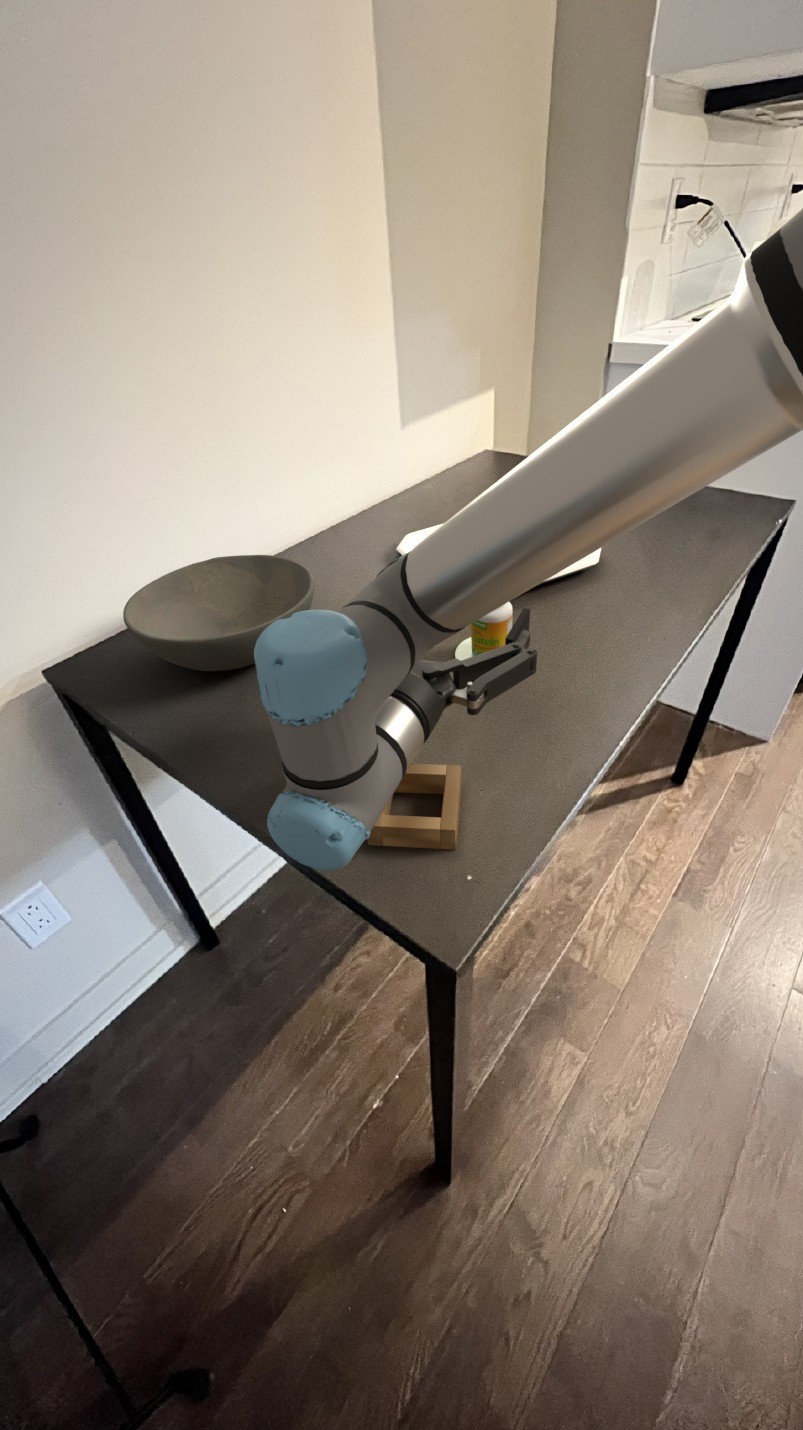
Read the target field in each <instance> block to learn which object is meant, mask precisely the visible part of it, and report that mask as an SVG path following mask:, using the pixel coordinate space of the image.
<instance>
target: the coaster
mask: <svg viewBox="0 0 803 1430" xmlns="http://www.w3.org/2000/svg"><path fill="white" fill-rule="evenodd" d="M470 657H473V654H472V638H471V636H470V637H468V638H466V639H464V640H462V641H461V642H460V643H459V644H458V645H457V646H456V649H455V651H454V659H456V658H457V659H459V660H460V661H461V660H464V659H467V658H470Z"/></svg>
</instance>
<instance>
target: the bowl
mask: <svg viewBox="0 0 803 1430" xmlns="http://www.w3.org/2000/svg"><path fill="white" fill-rule="evenodd" d="M314 594H315V580H314V577H313V574H312V573H311V571H310V570H309V569H308V568H307V567H306V566H305V565H303V564H302V563H300V562H299V561H296V560H295V561H294V560H292V559H288V558H285V557H280V556H276V555H272V554H243V555H228V556H227V555H226V556H216V557H212V558H208V559H206V560H203V561H198V562H194V563H191V564H188V565H186V566H183V567H179V568H177V569H175V570H172V571H169V572H168V573H166V574H164V575H162V576H160V577H158V578H157V579H154V580H152V581H151V582H148V583H147V584H146V585H144V586H142V587H141V588H139V589H138V590H137V591H136V592H135V593H133V594H132V596H131V597H130V598H129V599H128V601H127V602H126V603H125V605H124V606H123V607H124V608H123V614H122V619H123V622H124V625H125V627H126V628H127V630H128V631H129V633H130V634H131V635H132V636H133V638H134V639H135V640H136V641H137V642H138V643H139V644H140V645H142V646H143V648H145V649H146V650H148V651H149V652H151V653H152V654H153V655H155V656H157V657H158V658H160V659H162V660H164V661H166V662H168V663H171V664H173V665H176V666H179V667H181V668H185V669H189V670H194V671H200V672H221V671H222V672H223V671H232V670H235V669H236V670H237V669H241V668H245V667H248V666H252V665H254V664H255V659H254V649H255V645H256V642H257V640H258V638H259V636H260V635H261V633H262V632H263V631H264V630H265V629H266V628H267V627H268V626H269V625H271V624H272V623H273V622H275V621H277V620H280V619H287V618H290V617H291V616H292V614H293V613H297V612H301V611H306V610H311V607H312V604H313V600H314Z"/></svg>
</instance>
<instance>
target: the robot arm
mask: <svg viewBox="0 0 803 1430" xmlns="http://www.w3.org/2000/svg"><path fill="white" fill-rule="evenodd" d="M801 431H803V208H801V209H800V210H799V211H798V212H797V213H795V215H794V216H792V217H791V218H790V219H789V220H788V221H787V222H785V223H784V224H783V225H782V226H781V227H780V228H779V229H777V231H775V232H774V233H773V234H771V235H770V236H769V237H768V238H767V239H766V240H764V241H763V242H762V243H761V244H759V245H758V246H757V247H756V248H754V249H753V250H752V251H750V252H749V253H748V254H747V255H746V256H745V257H744V258H743V262H742V265H741V268H740V270H739V274H738V277H737V281H736V284H735V287H734V290H733V291H732V293H731V295H730V296H729V297H728V298H726V299H725V300H724V301H723V302H721V303H720V304H719V305H717V306H716V307H715V308H714V309H712V310H711V311H710V312H709V313H708V314H706V315H705V316H704V317H703V318H701V319H700V320H699V321H697V322H696V323H695V324H693V325H692V326H691V327H690V328H689V329H687V330H686V331H684V332H683V333H682V334H681V335H680V336H678V337H677V338H676V339H675V340H674V341H672V342H670V344H669V345H667V346H666V347H665V348H663V349H662V350H661V351H660V352H658V353H657V354H656V355H655V356H653V357H652V358H651V359H650V360H648V361H647V362H645V364H643V365H642V366H640V367H639V368H638V369H637V370H636V371H635V372H633V373H632V374H631V375H630V376H628V377H627V378H626V379H624V380H623V381H622V382H621V383H619V384H618V385H617V386H616V387H614V388H613V389H611V391H609V392H608V393H606V394H605V395H604V396H603V397H601V398H600V399H599V400H598V401H597V402H595V403H594V404H593V405H592V406H590V407H589V408H587V410H585V411H584V412H583V413H581V414H580V415H579V416H577V418H575V419H574V420H572V421H571V422H570V423H569V424H568V425H566V426H565V427H564V428H563V429H561V430H560V431H559V432H557V433H556V434H555V435H554V436H552V437H551V438H550V439H548V440H547V441H546V442H545V443H544V444H542V445H541V446H540V447H539V448H537V449H536V450H535V451H533V452H532V453H531V454H530V455H528V456H527V457H526V458H524V459H523V460H522V461H521V462H519V464H517V465H516V466H515V467H513V468H512V469H511V470H510V471H508V472H507V473H506V474H504V475H503V476H502V477H501V478H500V479H498V480H497V481H496V482H495V483H493V484H491V486H489V487H488V488H487V489H486V490H484V491H483V492H482V493H481V494H479V495H478V496H477V497H476V498H474V499H473V500H471V501H470V502H469V503H468V504H466V506H464V507H463V508H462V509H460V510H459V511H457V512H456V513H455V514H454V515H453V516H451V517H450V518H449V519H448V520H446V521H445V522H444V523H442V524H443V525H442V526H440V527H439V528H438V529H437V530H435V531H434V532H433V533H431V534H430V535H429V536H428V537H426V538H425V539H424V540H423V541H421V542H420V543H419V544H418V545H416V546H415V547H414V548H413V549H412V550H411V551H410V552H408V553H406V554H404V555H402V556H401V555H400V556H399V557H397V558H395V559H393V560H392V561H391V562H390V563H388V564H387V565H386V566H384V568H382V569H381V571H379V572H378V573H377V574H376V576H375V578H374V579H372V581H370V582H369V583H368V584H367V585H366V586H365V587H363V589H362V590H361V591H359V592H358V593H357V594H356V595H355V596H354V597H353V598H352V599H351V600H350V601H349V602H348V603H346V605H344V606H342V607H341V608H340V609H339V610H338V611H334V610H329V609H310V610H306V611H301V612H297V613H293V614H292V616H291V617H290V618H287V619H280V620H277V621H275V622H273V623H272V624H271V625H269V626H268V627H267V628H266V629H265V630H264V631H263V632H262V633H261V635H260V636H259V638H258V640H257V642H256V645H255V649H254V659H255V663H254V664H255V670H256V678H257V683H258V686H259V691H258V692H259V693H258V694H259V697H260V701H261V703H262V707H264V709H265V712H266V714H267V717H268V720H269V723H270V727H271V729H272V733H273V735H274V736H273V737H274V739H275V743H276V745H277V749H278V752H279V755H280V760H281V768H282V772H283V776H284V779H285V782H286V784H285V788H284V790H283V791H281V792H280V793H278V794H277V796H276V798H275V799H276V800H275V801H274V803H273V805H272V806H271V807H270V810H269V811H268V814H267V819H266V826H267V830H268V833H269V835H270V836H271V838H272V840H273V841H274V842H275V844H276V845H277V846H278V847H279V848H280V849H281V850H282V851H283V853H285V854H286V855H287V856H288V857H289V858H292V859H293V860H294V861H295V862H297V863H299V864H301V865H303V866H305V867H309V868H312V869H313V870H314V869H315V870H317V871H322V872H333V871H338V870H340V869H343V868H344V867H345V866H347V865H348V864H349V863H350V862H351V860H352V859H353V857H354V856H355V855H356V853H357V852H358V850H359V849H360V847H361V846H362V844H363V843H364V841H366V840H368V838H369V836H370V832H371V830H372V829H373V827H374V825H375V824H376V822H377V820H378V819H379V817H380V815H381V813H382V812H383V810H384V808H385V807H386V805H387V803H388V802H389V800H390V798H391V797H392V795H393V796H394V793H396V792H395V790H396V788H397V787H398V785H399V783H400V781H401V780H402V778H403V777H404V775H405V774H406V772H407V771H408V769H409V767H410V766H411V764H414V763H413V762H414V761H415V759H416V758H417V756H418V755H419V753H420V751H421V750H422V748H423V746H424V744H425V743H426V742H427V740H428V739H429V737H431V734H432V733H433V731H434V730H435V728H436V726H437V725H438V723H439V721H440V719H441V717H442V715H443V713H444V711H445V709H447V708H448V707H449V706H451V705H453V704H456V705H460V706H463V707H466V713H467V714H468V715H469V716H477V715H478V714H479V713H480V712H481V711H482V710H483V708H484V707H485V706H486V705H487V704H488V703H489V702H491V701H492V700H494V699H496V698H497V697H499V696H500V695H502V694H504V693H505V692H507V691H509V690H510V689H512V688H513V687H516V686H517V685H518V684H519V683H521V682H523V681H525V680H526V679H528V678H530V677H531V676H533V675H535V674H536V673H537V665H538V663H537V662H538V650H537V649H536V648H533V647H531V648H529V647H530V645H531V631H530V621H531V620H530V619H531V608H526V607H523V608H522V610H521V612H520V613H519V615H518V616H517V618H516V620H515V622H514V624H512V628H511V630H510V632H509V634H508V635H507V637H506V639H505V645H504V646H502V647H499V648H496V649H493V650H490V651H487V652H484V653H482V654H479V655H476V656H473V657H470V658H467V659H464V660H461V661H460V660H459V659H457V658H456V659H455V658H453V659H450V660H447V661H438V660H427V659H424V657H425V656H426V654H427V653H428V652H429V651H431V650H432V649H433V648H435V647H436V646H437V645H438V644H439V645H440V644H441V643H443V642H444V641H446V640H447V639H449V638H452V637H453V636H454V635H456V634H457V633H459V632H460V631H463V630H464V629H465V628H467V627H468V626H471V624H472V623H473V622H475V621H477V620H478V619H480V618H482V617H483V616H485V615H487V614H489V613H490V612H492V611H494V610H495V609H497V608H499V607H501V606H502V605H504V604H506V603H507V602H511V601H513V600H514V599H516V598H518V597H520V596H521V595H523V594H525V593H526V592H528V591H530V590H532V589H533V588H535V587H537V586H539V585H538V584H540V583H542V582H543V581H545V580H547V579H548V578H550V577H552V576H554V575H555V574H557V573H559V572H560V571H562V570H564V569H566V568H567V567H569V566H571V565H572V564H574V563H576V562H577V561H579V560H581V559H583V558H584V557H586V556H588V555H589V554H591V553H593V552H595V551H596V550H598V549H600V548H603V547H605V546H607V545H608V544H610V543H612V542H613V541H615V540H617V539H618V538H620V537H622V536H624V535H626V534H627V533H629V532H631V531H632V530H634V529H636V528H637V527H639V526H640V525H643V524H644V523H645V522H648V521H649V520H651V519H653V518H654V517H656V516H658V515H660V514H661V513H663V512H664V511H666V510H668V509H670V508H672V507H674V506H675V505H677V504H678V503H680V502H682V501H683V500H685V499H687V498H689V497H690V496H692V495H694V494H695V493H697V492H699V491H700V490H703V489H704V488H706V487H707V486H709V485H711V484H713V483H714V482H717V480H720V479H721V478H722V477H725V476H726V475H728V474H730V473H732V472H733V471H735V470H736V469H738V468H740V467H741V466H744V465H745V464H746V463H749V462H750V461H752V460H753V459H755V458H757V457H759V456H760V455H762V454H764V453H766V452H767V451H769V450H770V449H771V450H772V448H774V447H776V446H778V445H779V444H781V443H782V442H784V441H786V440H788V439H789V438H791V437H793V436H795V435H797V434H798V433H800V432H801ZM536 585H537V586H536ZM540 585H541V584H540ZM451 673H452V676H451ZM392 798H393V797H392Z"/></svg>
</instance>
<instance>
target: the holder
mask: <svg viewBox="0 0 803 1430" xmlns="http://www.w3.org/2000/svg"><path fill="white" fill-rule="evenodd" d="M462 785H463V784H462V766H461V765H456V764H455V765H454V764H453V765H452V764H430V763H429V764H425V763H412V764H411V766H410V767H409V769H408V771H407V772H406V774H405V775H404V777H403V778H402V780H401V781H400V783H399V785H398V787H397V788H396V790H395V792H394V793H404V794H425V795H426V794H429V795H430V794H431V795H443V796H442V806H441V813H440V814H441V815H440V817H439V816H437V817H436V816H435V817H434V816H415V815H413V816H412V815H391V814H390V812H391V807H392V802H393V797H394V794H393V795H392V797H391V798H390V800H389V802H388V803H387V805H386V807H385V808H384V810H383V812H382V813H381V815H380V817H379V819H378V820H377V822H376V824H375V825H374V827H373V829H372V830H371V832H370V836H369V838H368V839H367V844H368V846H379V847H382V846H383V847H395V848H396V847H397V848H414V849H415V848H416V849H417V848H418V849H434V850H455V851H457V845H458V834H459V821H460V812H461V811H460V809H461V799H462Z"/></svg>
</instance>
